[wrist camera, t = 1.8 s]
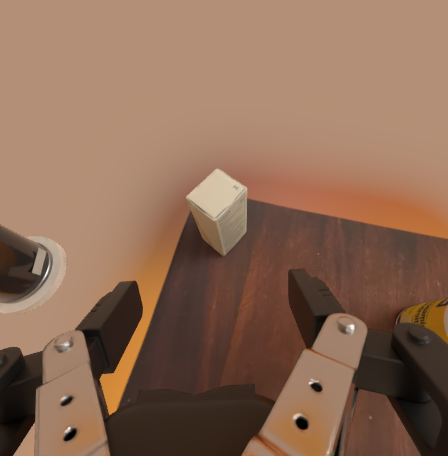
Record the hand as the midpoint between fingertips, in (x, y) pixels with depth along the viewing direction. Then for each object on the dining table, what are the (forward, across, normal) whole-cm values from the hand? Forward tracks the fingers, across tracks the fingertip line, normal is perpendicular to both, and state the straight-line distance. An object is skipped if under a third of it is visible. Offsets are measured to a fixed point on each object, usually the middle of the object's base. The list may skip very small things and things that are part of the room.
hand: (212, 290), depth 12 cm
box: (+21, 0, +5) cm, 22 cm away
